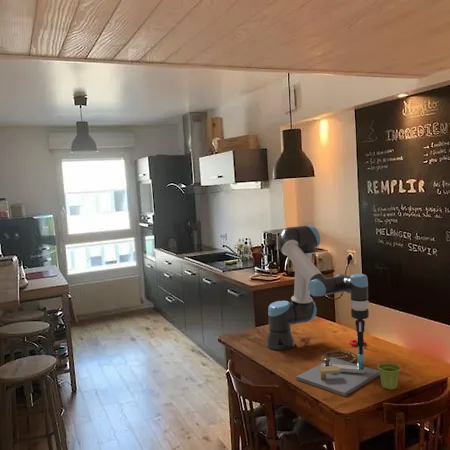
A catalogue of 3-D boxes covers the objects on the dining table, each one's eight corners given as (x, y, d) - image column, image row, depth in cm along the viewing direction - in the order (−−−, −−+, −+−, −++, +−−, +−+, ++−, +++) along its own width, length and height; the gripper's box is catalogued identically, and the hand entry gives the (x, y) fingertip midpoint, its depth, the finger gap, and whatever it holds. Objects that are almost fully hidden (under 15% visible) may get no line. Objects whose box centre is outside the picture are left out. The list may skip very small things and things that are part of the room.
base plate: (296, 379, 213) (296, 376, 212) (333, 360, 232) (333, 357, 232) (344, 396, 194) (344, 392, 194) (380, 374, 214) (380, 371, 214)
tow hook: (348, 341, 259) (350, 346, 250) (347, 318, 259) (349, 322, 249) (364, 341, 258) (366, 346, 249) (363, 318, 257) (366, 322, 248)
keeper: (318, 376, 211) (318, 366, 211) (337, 374, 212) (337, 365, 211) (321, 380, 206) (321, 371, 206) (340, 379, 207) (340, 370, 206)
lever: (320, 370, 217) (320, 353, 216) (322, 366, 221) (321, 349, 221) (363, 374, 210) (363, 356, 209) (364, 369, 215) (364, 352, 214)
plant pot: (374, 382, 205) (373, 363, 205) (395, 381, 206) (394, 361, 205) (383, 392, 196) (382, 372, 195) (405, 390, 197) (404, 370, 196)
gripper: (368, 313, 206) (369, 365, 208) (368, 304, 218) (369, 354, 221) (350, 312, 208) (352, 364, 210) (351, 304, 220) (353, 353, 223)
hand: (361, 359), depth 216 cm, fingers closed
